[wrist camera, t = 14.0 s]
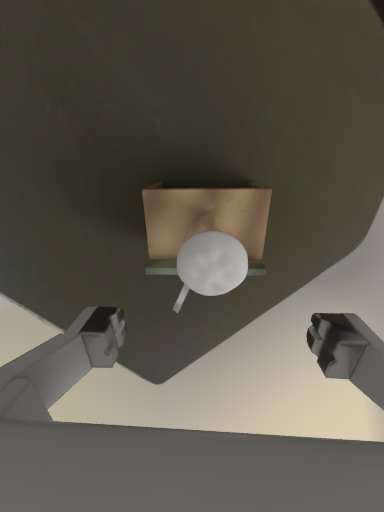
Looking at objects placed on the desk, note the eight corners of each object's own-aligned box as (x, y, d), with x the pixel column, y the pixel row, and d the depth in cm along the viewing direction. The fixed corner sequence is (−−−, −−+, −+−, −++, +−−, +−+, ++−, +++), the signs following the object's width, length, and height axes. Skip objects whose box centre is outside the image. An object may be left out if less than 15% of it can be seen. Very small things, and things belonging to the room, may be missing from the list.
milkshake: (170, 231, 21) (146, 287, 12) (210, 194, 19) (217, 225, 10) (201, 261, 22) (200, 332, 13) (240, 228, 20) (272, 284, 11)
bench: (254, 181, 25) (279, 192, 17) (247, 242, 28) (265, 276, 20) (156, 182, 25) (135, 192, 17) (161, 242, 29) (145, 274, 21)
